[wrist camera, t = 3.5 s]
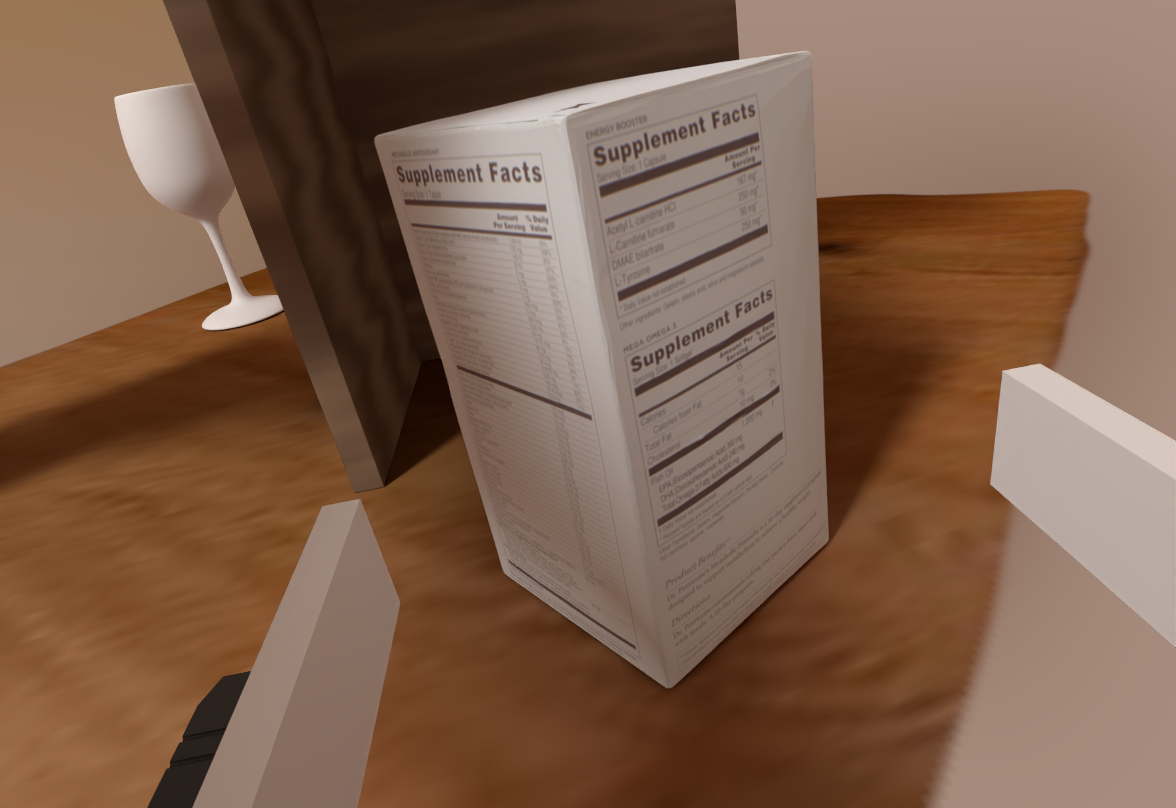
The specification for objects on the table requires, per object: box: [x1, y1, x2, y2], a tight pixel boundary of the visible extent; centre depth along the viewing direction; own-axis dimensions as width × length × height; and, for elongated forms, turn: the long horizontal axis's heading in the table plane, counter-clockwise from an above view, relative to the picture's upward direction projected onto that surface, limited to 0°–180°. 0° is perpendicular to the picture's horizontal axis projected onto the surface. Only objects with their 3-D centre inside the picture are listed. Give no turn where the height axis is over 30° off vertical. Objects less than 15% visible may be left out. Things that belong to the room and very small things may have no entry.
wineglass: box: [115, 84, 283, 330], centre depth 66 cm, size 9×9×21 cm
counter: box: [163, 0, 739, 492], centre depth 36 cm, size 18×26×32 cm
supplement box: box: [374, 51, 829, 688], centre depth 23 cm, size 10×9×17 cm
